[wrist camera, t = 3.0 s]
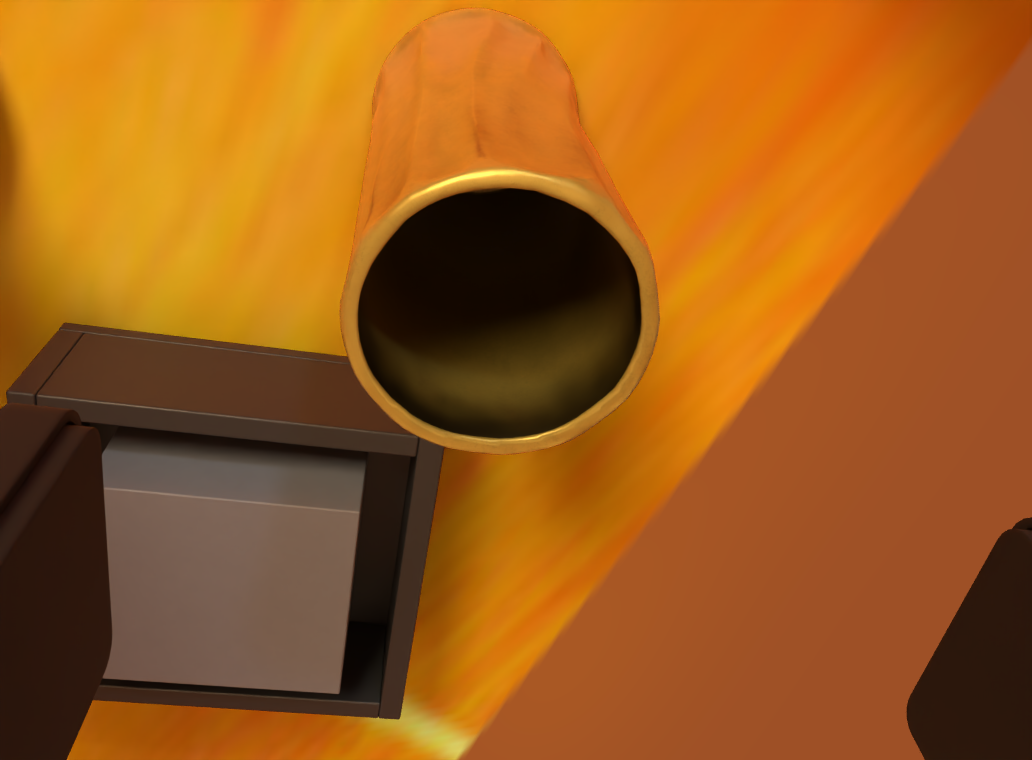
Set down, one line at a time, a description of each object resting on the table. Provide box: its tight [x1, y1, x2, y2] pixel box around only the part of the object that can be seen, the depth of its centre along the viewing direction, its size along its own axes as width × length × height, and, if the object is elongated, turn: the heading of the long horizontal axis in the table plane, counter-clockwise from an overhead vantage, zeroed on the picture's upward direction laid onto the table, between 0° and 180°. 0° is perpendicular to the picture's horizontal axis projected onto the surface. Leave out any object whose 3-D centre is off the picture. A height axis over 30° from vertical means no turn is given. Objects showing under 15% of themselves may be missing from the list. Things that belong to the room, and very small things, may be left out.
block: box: [102, 426, 369, 694], centre depth 30 cm, size 8×8×5 cm
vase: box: [340, 8, 660, 455], centre depth 21 cm, size 6×6×14 cm
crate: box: [6, 323, 444, 719], centre depth 31 cm, size 13×13×4 cm
